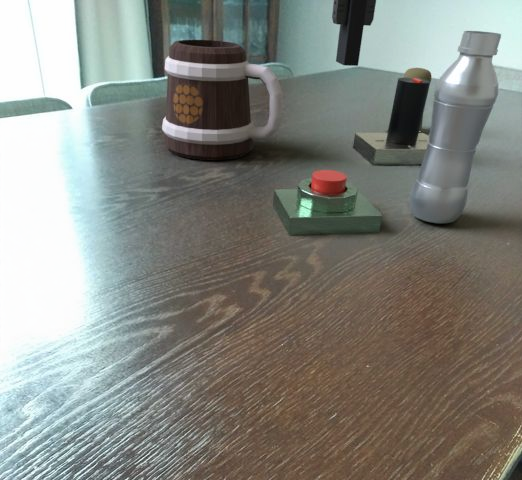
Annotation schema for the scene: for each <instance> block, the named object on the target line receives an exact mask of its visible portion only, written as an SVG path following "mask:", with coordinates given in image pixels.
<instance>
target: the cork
mask: <svg viewBox="0 0 522 480" xmlns="http://www.w3.org/2000/svg"><path fill="white" fill-rule="evenodd" d="M404 77H407V78H419V79H425V80H428V81H430V84H431V82H432V72H431V71H430V70H429V69H426V68H422V67H412V68H408V69H407V70H406V71H405V72H404V74H403V76H402V78H404ZM423 119H424V115H423V116H422V121H421V125H420V129H419V131H421V132H419V133H422V129H423V122H424V121H423Z"/></svg>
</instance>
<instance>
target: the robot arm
mask: <svg viewBox="0 0 522 480" xmlns="http://www.w3.org/2000/svg"><path fill="white" fill-rule="evenodd" d="M376 4H377V0H333V4H332V12H331V13H332V14H331V19H332V23H333V24H334V25H338V26H339V32H338V40H337V49H336V58H335V62H336V63H337V64H340V65H342V66H345V67H346V66H348V67H349V66H352V67H354V66H355V67H357V66H359V63H360V54H361V47H362V42H363V41H362V40H363V34H364V27H365V26H366V27H367V26H369V27H371V25H372V23H373V22H374V18H375V12H376Z"/></svg>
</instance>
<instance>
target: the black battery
mask: <svg viewBox="0 0 522 480" xmlns="http://www.w3.org/2000/svg"><path fill="white" fill-rule="evenodd" d="M430 85H431V83H430V81H428V80H425V79H419V78H407V77H404V78H403V77H398V79H397V83H396V87H395V93H394V98H393V103H392V108H391V113H390V118H389V124H388V129H387V132H386V133H387V140H388V141H391V142H394V143H398V144H414V143H416V142H417V138H418V134H419V129H420V125H421V121H422V116H423V117H424V112H425V107H426V103H427V99H428V94H429V90H430ZM422 122H423V121H422Z"/></svg>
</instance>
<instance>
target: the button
mask: <svg viewBox="0 0 522 480" xmlns="http://www.w3.org/2000/svg"><path fill="white" fill-rule="evenodd" d="M311 178H312V183H311V189H312V190H314V191H316V192H320V193H326V194H340V193H344V192H345V186H346V182H347V179H348V177H347V175H346V174H345V173H343V172H340V171H338V170H331V169H319V170H315V171H313V172H312V175H311Z"/></svg>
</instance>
